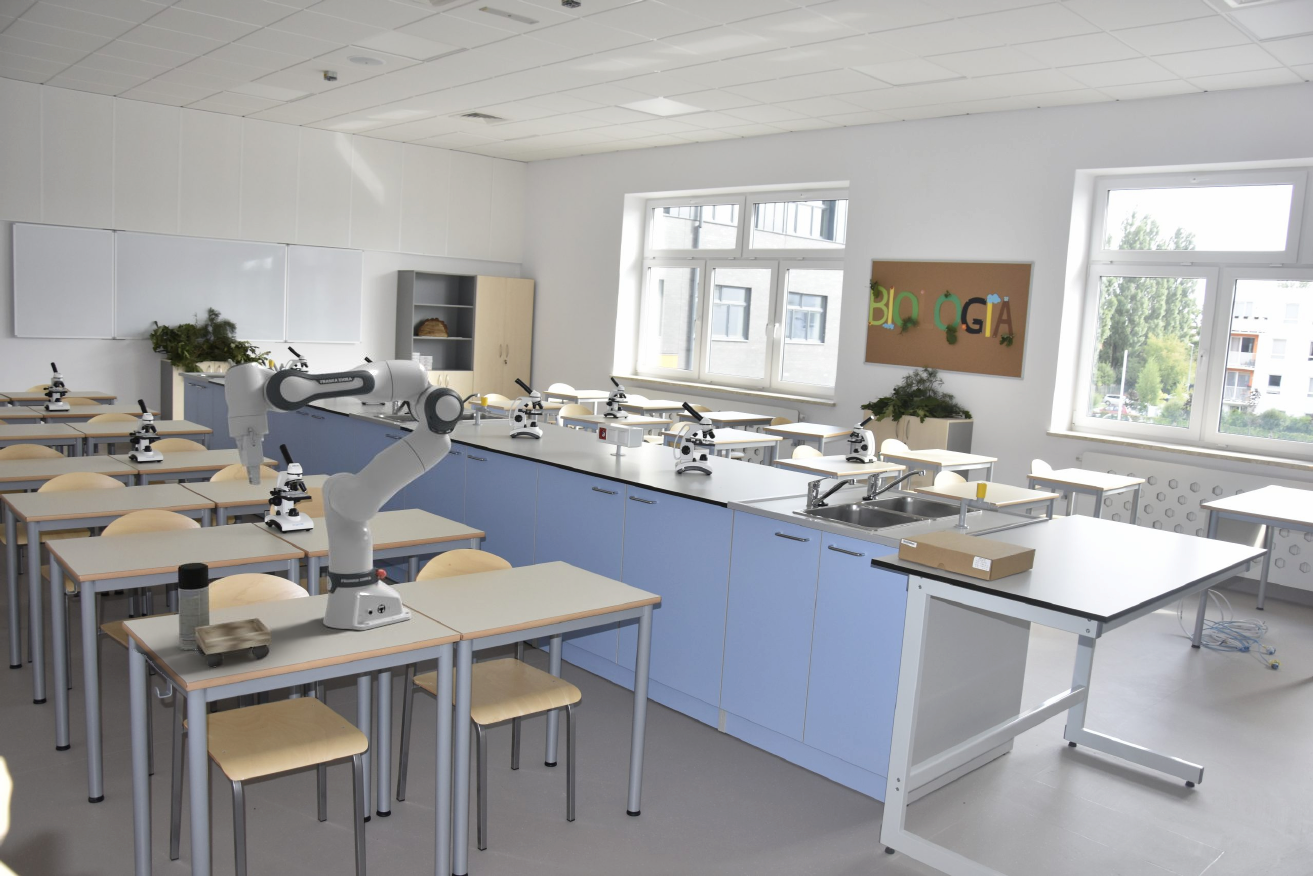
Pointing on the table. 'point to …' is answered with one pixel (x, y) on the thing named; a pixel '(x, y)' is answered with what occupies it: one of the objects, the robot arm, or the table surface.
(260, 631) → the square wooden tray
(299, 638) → the table surface
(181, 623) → the spray can
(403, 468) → the robot arm
